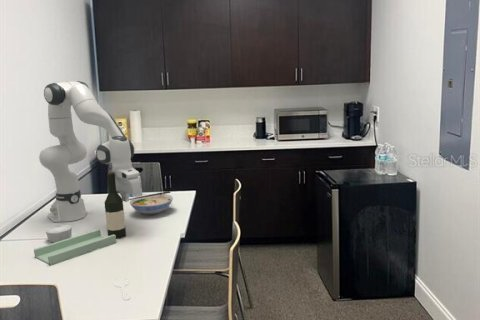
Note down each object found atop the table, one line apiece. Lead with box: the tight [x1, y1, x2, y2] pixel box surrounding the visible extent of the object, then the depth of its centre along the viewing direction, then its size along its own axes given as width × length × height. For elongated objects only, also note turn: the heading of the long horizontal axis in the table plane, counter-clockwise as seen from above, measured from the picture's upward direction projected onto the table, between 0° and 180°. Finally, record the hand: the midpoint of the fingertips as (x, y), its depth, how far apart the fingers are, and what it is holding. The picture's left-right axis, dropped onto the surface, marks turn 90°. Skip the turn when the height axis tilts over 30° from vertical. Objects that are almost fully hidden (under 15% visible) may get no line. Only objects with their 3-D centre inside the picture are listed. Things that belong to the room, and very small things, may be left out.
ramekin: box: [45, 224, 72, 244], centre depth 216 cm, size 11×11×5 cm
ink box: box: [129, 175, 143, 198], centre depth 286 cm, size 9×5×12 cm, turn 81°
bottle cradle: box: [33, 228, 117, 266], centre depth 202 cm, size 14×30×4 cm, turn 137°
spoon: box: [113, 277, 132, 301], centre depth 163 cm, size 5×18×1 cm, turn 22°
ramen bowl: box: [128, 190, 174, 216], centre depth 249 cm, size 25×23×8 cm
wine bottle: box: [104, 171, 127, 240], centre depth 214 cm, size 8×8×30 cm
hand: (125, 201), depth 218 cm, fingers closed
